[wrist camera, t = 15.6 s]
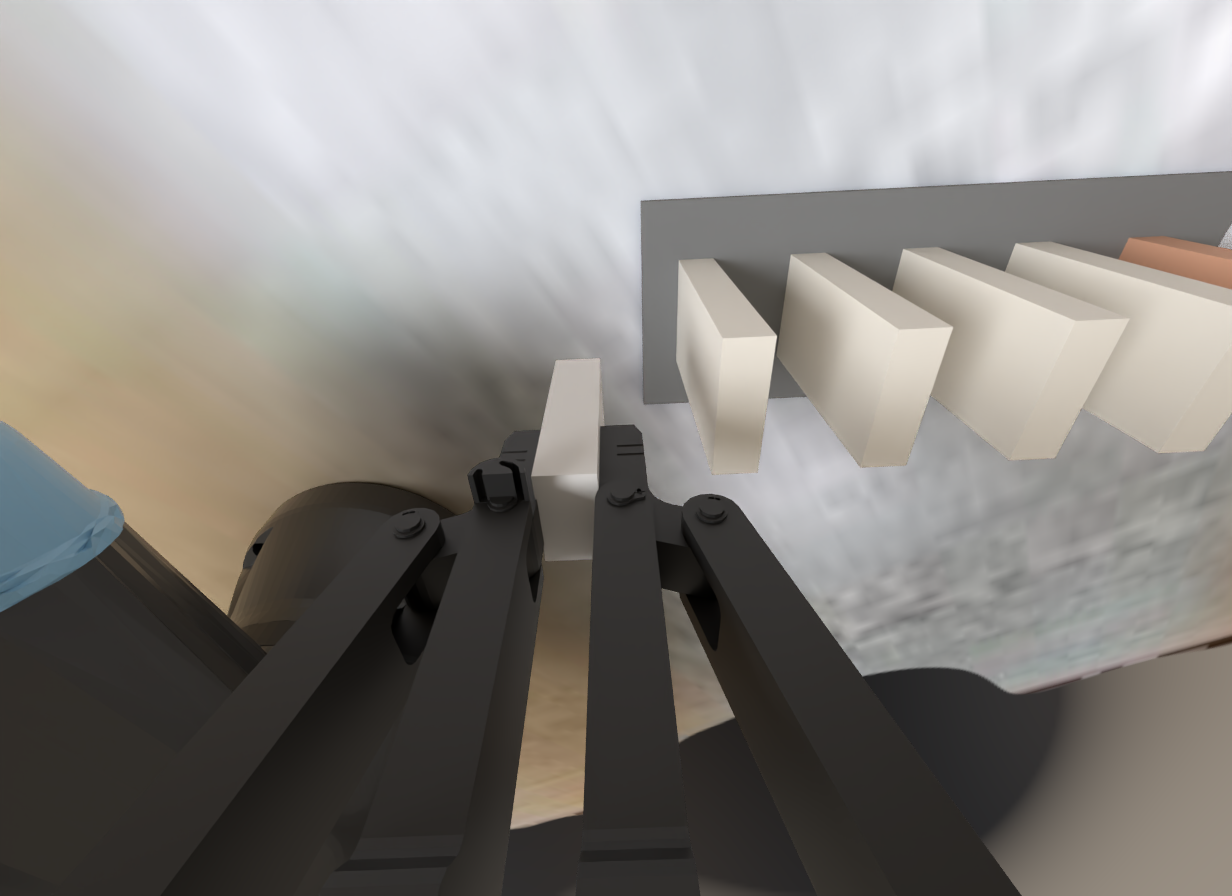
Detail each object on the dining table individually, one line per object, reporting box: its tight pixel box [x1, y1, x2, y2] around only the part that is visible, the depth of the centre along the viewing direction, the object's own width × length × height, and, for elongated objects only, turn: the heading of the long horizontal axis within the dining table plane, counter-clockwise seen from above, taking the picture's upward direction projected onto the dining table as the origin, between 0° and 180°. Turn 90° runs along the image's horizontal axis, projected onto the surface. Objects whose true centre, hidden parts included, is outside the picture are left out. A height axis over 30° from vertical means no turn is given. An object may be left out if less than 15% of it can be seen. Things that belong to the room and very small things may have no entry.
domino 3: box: [892, 247, 1130, 460], centre depth 20 cm, size 2×5×10 cm, turn 3°
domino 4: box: [1005, 242, 1232, 453], centre depth 20 cm, size 2×5×10 cm, turn 3°
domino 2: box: [776, 253, 953, 468], centre depth 20 cm, size 2×5×10 cm, turn 2°
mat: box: [641, 171, 1232, 405], centre depth 24 cm, size 27×10×1 cm, turn 92°
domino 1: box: [676, 258, 777, 475], centre depth 20 cm, size 2×5×10 cm, turn 2°
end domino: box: [1118, 236, 1232, 289], centre depth 20 cm, size 2×5×10 cm, turn 3°
